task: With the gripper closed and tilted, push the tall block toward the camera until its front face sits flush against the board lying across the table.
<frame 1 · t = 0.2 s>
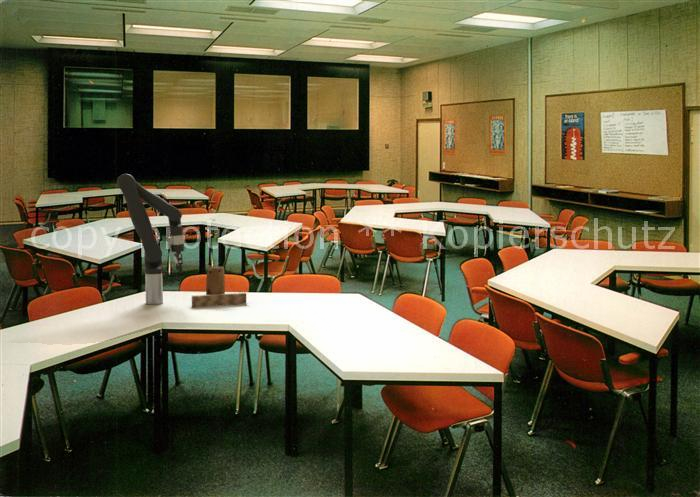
hand: (179, 271, 339), 18 cm above the table, tool pointing down, fingers open, 8 cm apart
board: (219, 305, 332), on the table
block: (215, 300, 345), on the table
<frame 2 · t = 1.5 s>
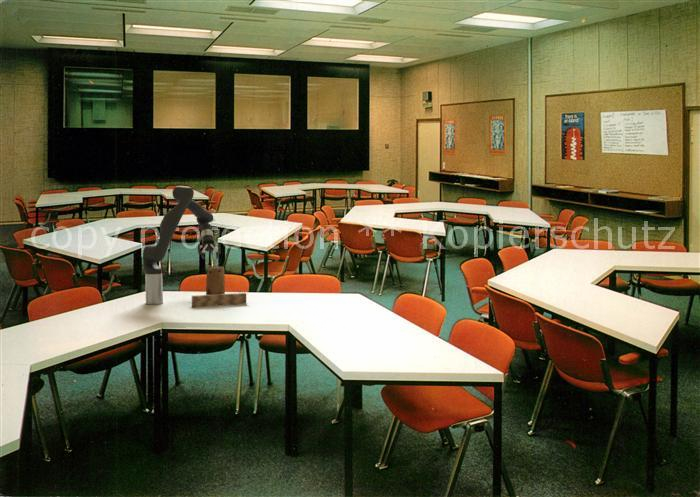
hand: (210, 258, 361), 23 cm above the table, tool tilted 45°, fingers open, 7 cm apart
nothing on the table moved.
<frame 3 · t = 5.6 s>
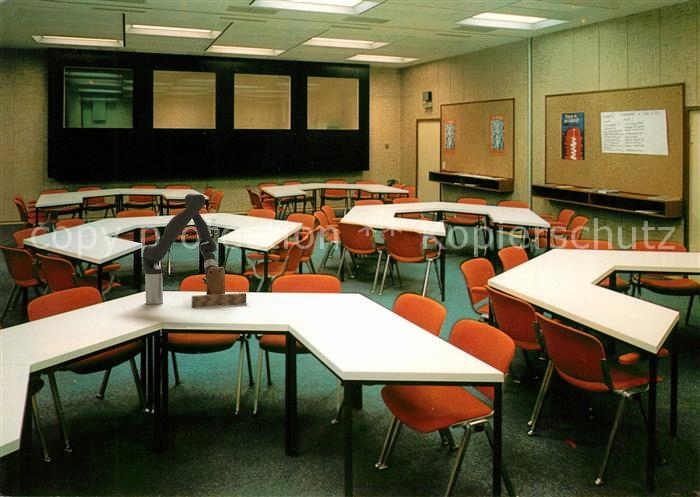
hand: (214, 291, 348), 5 cm above the table, tool tilted 45°, fingers closed
block: (215, 301, 344), on the table, touching gripper
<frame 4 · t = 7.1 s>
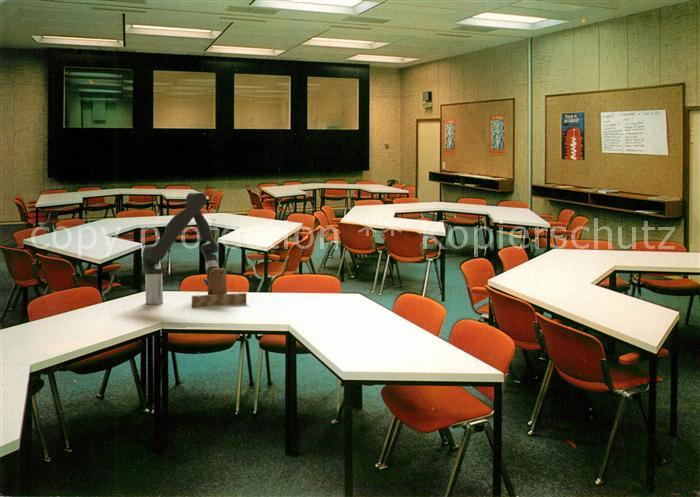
hand: (216, 293, 343), 5 cm above the table, tool tilted 45°, fingers closed
block: (217, 302, 339), on the table, touching gripper
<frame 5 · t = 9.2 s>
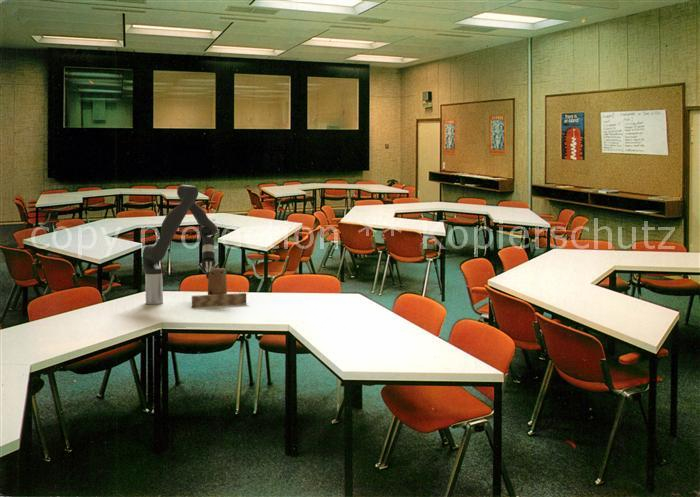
hand: (208, 278, 356), 11 cm above the table, tool tilted 35°, fingers closed
block: (217, 302, 339), on the table
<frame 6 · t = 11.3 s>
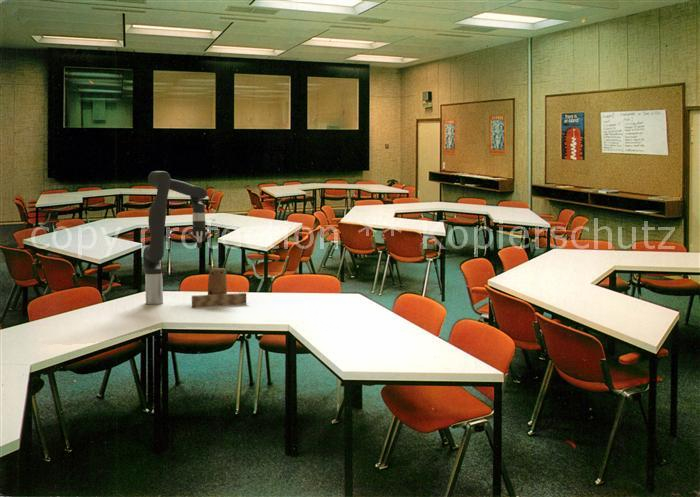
hand: (199, 248, 361), 29 cm above the table, tool pointing down, fingers closed
nothing on the table moved.
at the end: block inside the target area on the table beside the board (0.8 cm from its centre), on the table; block tilted 0° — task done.
